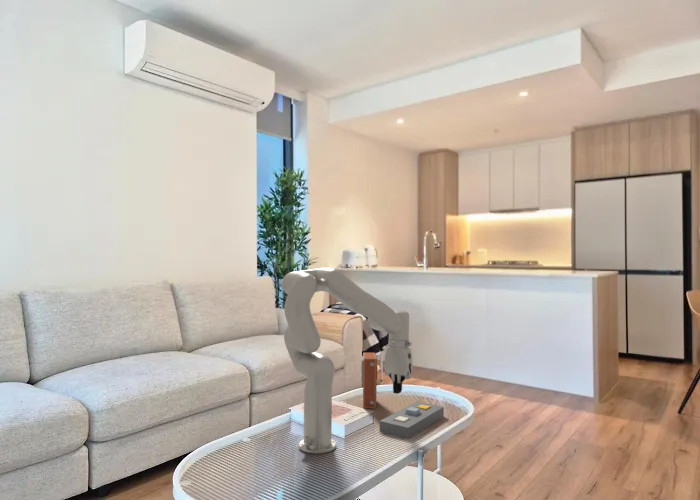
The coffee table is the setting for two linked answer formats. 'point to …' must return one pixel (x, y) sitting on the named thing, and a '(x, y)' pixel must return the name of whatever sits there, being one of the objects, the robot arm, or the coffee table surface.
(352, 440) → the coffee table surface
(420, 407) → the amber button
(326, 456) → the coffee table surface
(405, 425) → the button strip
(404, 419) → the white button
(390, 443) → the coffee table surface
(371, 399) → the terracotta rectangular block
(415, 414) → the slate button
